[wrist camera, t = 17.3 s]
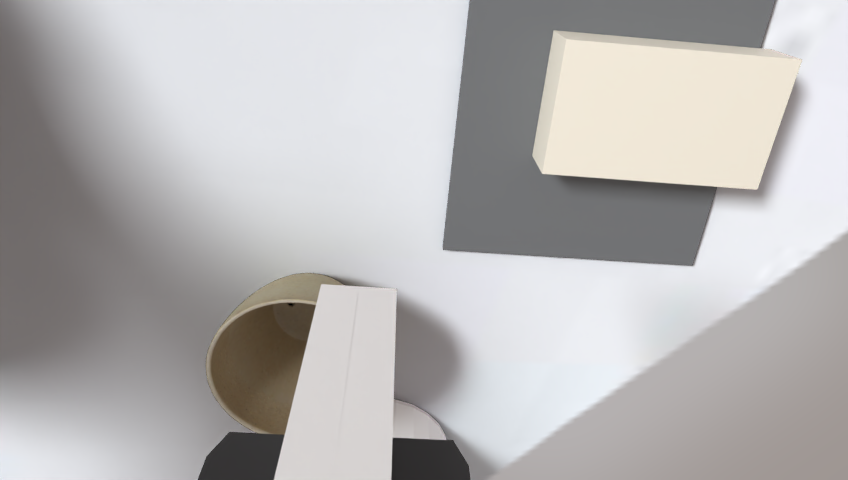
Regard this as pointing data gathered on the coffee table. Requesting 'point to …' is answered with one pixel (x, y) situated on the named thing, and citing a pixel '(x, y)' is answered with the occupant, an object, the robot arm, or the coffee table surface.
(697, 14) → the mat
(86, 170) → the coffee table surface
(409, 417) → the mug
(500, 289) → the coffee table surface
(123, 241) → the coffee table surface
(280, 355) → the flower pot
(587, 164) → the slab
